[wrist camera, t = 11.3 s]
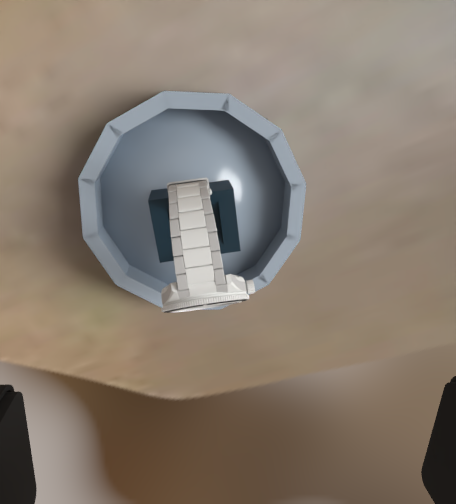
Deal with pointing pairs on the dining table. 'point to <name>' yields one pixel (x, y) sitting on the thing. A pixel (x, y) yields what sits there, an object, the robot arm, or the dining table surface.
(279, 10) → the dining table surface
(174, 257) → the watch
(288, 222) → the dish
